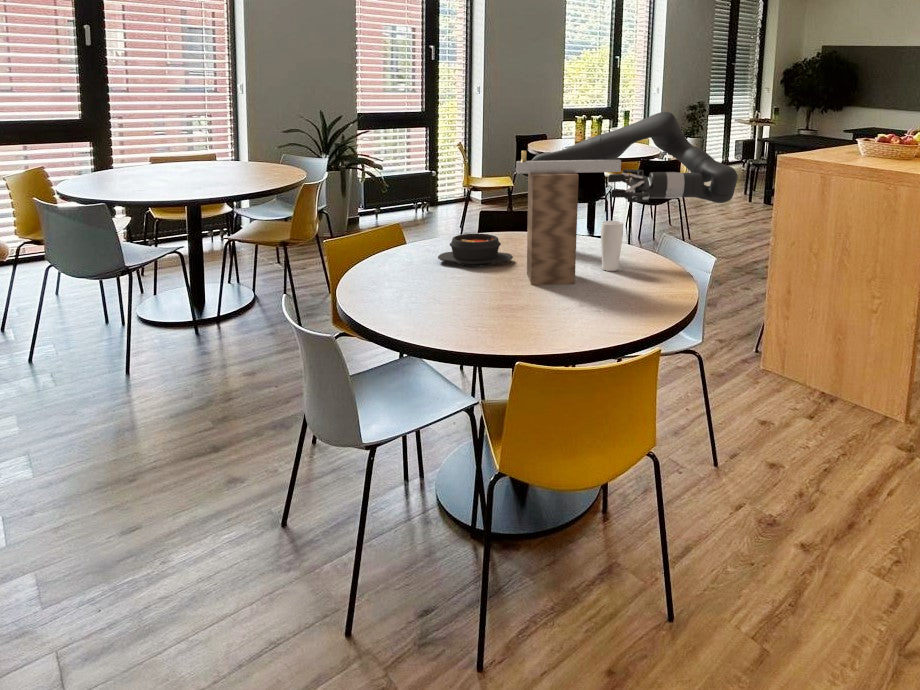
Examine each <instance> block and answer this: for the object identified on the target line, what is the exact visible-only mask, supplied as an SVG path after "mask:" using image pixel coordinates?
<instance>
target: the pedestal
mask: <svg viewBox="0 0 920 690" xmlns="http://www.w3.org/2000/svg"><path fill="white" fill-rule="evenodd" d="M578 202H579V174H578V173H527V229H526V230H527V231H526V232H527V233H526V234H527V235H526V236H527V237H526V239H527V241H526V245H527V246H526V276H527V277H528V281H529V283H530V285H531V286H534V285H536V286H537V285H538V286H539V285H542V286H543V285H544V286H545V285H575V284H576V264H577V263H576V262H577V261H576V260H577V258H576V257H577V233H578V232H577V231H578V230H577V229H578V204H579V203H578Z"/></svg>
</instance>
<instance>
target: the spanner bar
mask: <svg viewBox="0 0 920 690" xmlns="http://www.w3.org/2000/svg"><path fill="white" fill-rule="evenodd" d="M520 158H521V159H520V160H517V161H516V162H515V163H516V167H515V168H516V169H515V171H516V174H517V175H518V174H528V173H577V174H578V173H581V174H582V173H583V174H584V173H622V171H621V170H622V169H621V167H622V160H621V159H620V158H619V159H618V158H617V159H615V160H554V161H531V160H527V150H521V157H520Z"/></svg>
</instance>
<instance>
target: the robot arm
mask: <svg viewBox="0 0 920 690" xmlns="http://www.w3.org/2000/svg"><path fill="white" fill-rule="evenodd" d="M650 138H651V140H652V141H653V144H654V145H655V146H656V147H657V148H659V150H661V151H663V152H664V153H667V154H668V155H670V157H673V158H675V160H677V161H679V163H681V164H682V165H683V166H684V167H685V168H686V169H687V170H688V171H689V172H678V171H677V172H676V171H656V172H655V171H653V172H650V173H649V174H648V175H647V176H646V175H644V170H643V169H623V170H622V172H621V173H611V174H610V173H609V174H608V178H607V181H608V182H609V183H621V182H622V183H624V184H627V186H629V188H627V189H625V188H624V189H612V190H611V192H610V196H611V198H615V199H617V198H624V199H625V200H627V202H628V203H646V202H647V203H648V202H649V199H678V198H696V199H701V200H705V201H708V202H712V203H716V204H717V203H718V204H724V203H727V202H730V201H731V200H732V199H733V197H734V194H735V190H736V186H737V183H738V177H739V175H738V173H737V171H736V169H735V168H733V167H732V166H729V165H727V164H724V163H722V162H719V161H718V160H715V159H714V158H713V157H712V156H711V155H710V154H709V153H708V152H706V151H705V150H703V149H702V148H699V147H697V146H695V145H693V144H691V143H690V142H689V141H688V139H687V138H686V136H685V134H684V133H683V132H682V128H681V126H680V123H679V122H678V120H677V118H676V116H675V115H674V114H673V112H669V111H660V112H658V113H655V114H652V115H649V116H647V117H645V118H643V119H640V120H638V121H636V122H634V123H631V124H629V125H626V126H623V127H621V128H620V127H619V128H617V129H615V130H612V131H611V130H610V131H608V132H605V133H601V134H598V135H594V136H592V137H589V138H587V139H584V140H582V141H579V142H577V143H575V144H572V145H570V146H568V147H566V148H563V149H561V150H557V151H551V152H550V151H546V152H543V153H539V154H536V155H535V156H534V157H533V158H532V159H531V160H530V161H554V160H616V159H618V158H620V157H621V156H622V155H623V153H625V151H626V150H628V148H630V146H632V145H634V144H635V143H637V142H640V141H643V140H646V139H650ZM709 182H710V185H706V184H705V183H709Z"/></svg>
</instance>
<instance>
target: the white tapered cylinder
mask: <svg viewBox="0 0 920 690" xmlns="http://www.w3.org/2000/svg"><path fill="white" fill-rule="evenodd" d="M600 227H601V228H600V244H601V247H600V248H601V269H602V270H603V271H605V270H606V271H607V272H615V271H618V270H619V269H620V257H621V252H622V244H623V237H624V222H622V221H619V220H605V221H602V222H601V226H600Z"/></svg>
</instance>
